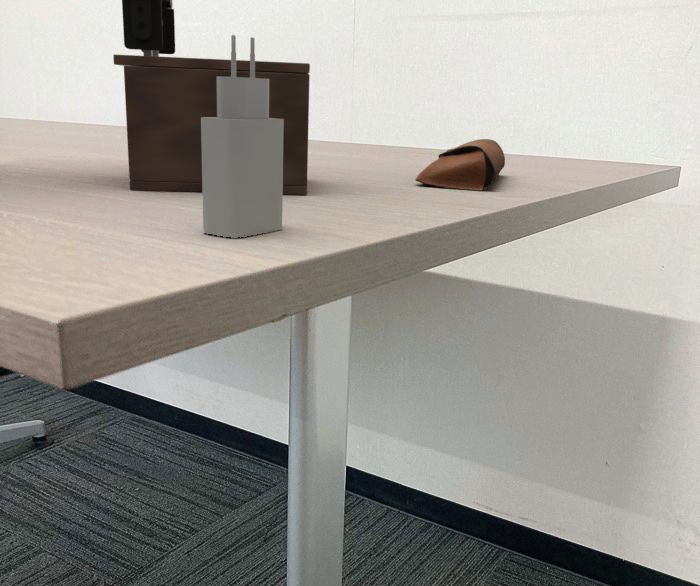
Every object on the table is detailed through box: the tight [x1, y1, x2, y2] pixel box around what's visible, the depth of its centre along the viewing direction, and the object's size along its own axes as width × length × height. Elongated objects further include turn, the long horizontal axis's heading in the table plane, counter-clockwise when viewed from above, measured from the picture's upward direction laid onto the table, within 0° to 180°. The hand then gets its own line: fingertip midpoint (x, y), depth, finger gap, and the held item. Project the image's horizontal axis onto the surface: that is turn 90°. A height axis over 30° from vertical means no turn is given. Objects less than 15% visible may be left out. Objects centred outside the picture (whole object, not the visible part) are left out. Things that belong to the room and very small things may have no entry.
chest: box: [123, 66, 311, 196], centre depth 73 cm, size 16×13×10 cm
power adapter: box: [201, 34, 284, 239], centre depth 49 cm, size 3×5×12 cm, turn 148°
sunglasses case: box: [415, 138, 506, 192], centre depth 86 cm, size 18×7×7 cm, turn 167°
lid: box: [112, 20, 311, 74], centre depth 70 cm, size 16×13×5 cm
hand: (151, 50), depth 70 cm, fingers open, 7 cm apart
